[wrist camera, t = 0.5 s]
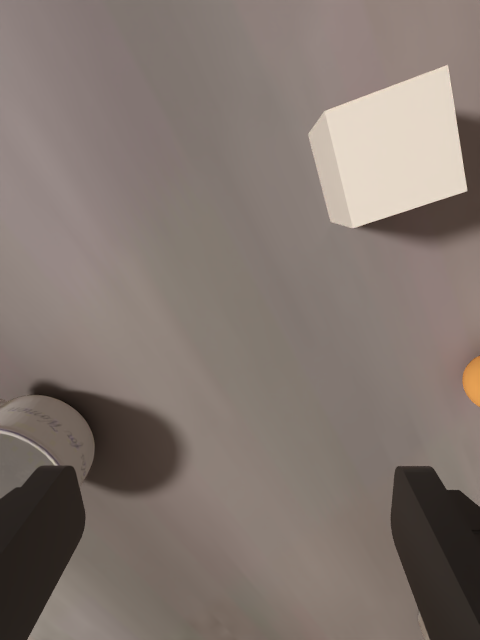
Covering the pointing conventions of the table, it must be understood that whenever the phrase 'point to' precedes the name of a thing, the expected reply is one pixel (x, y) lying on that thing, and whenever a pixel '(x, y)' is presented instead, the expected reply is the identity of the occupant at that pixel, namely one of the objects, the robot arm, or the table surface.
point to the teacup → (41, 439)
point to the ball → (472, 380)
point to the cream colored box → (389, 151)
